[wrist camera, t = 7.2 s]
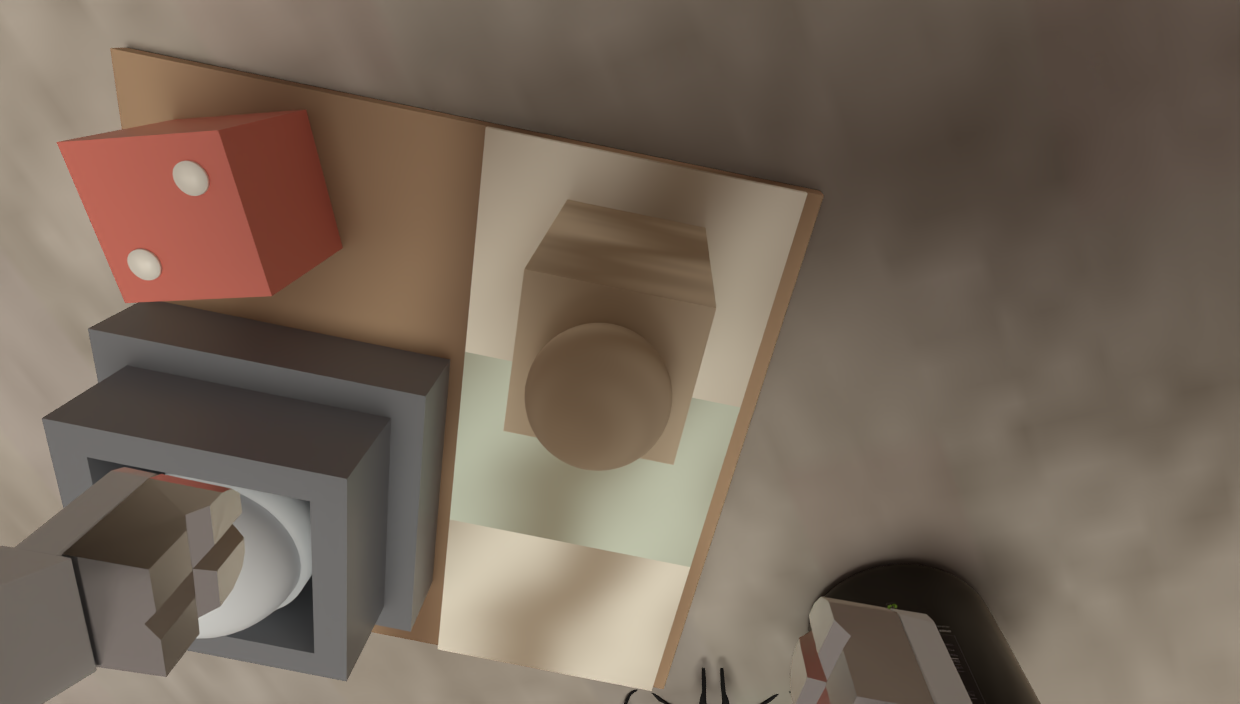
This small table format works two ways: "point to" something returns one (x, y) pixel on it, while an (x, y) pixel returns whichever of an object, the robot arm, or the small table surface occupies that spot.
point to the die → (206, 204)
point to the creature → (703, 696)
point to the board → (484, 344)
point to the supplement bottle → (948, 625)
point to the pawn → (610, 336)
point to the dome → (264, 560)
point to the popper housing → (277, 457)
